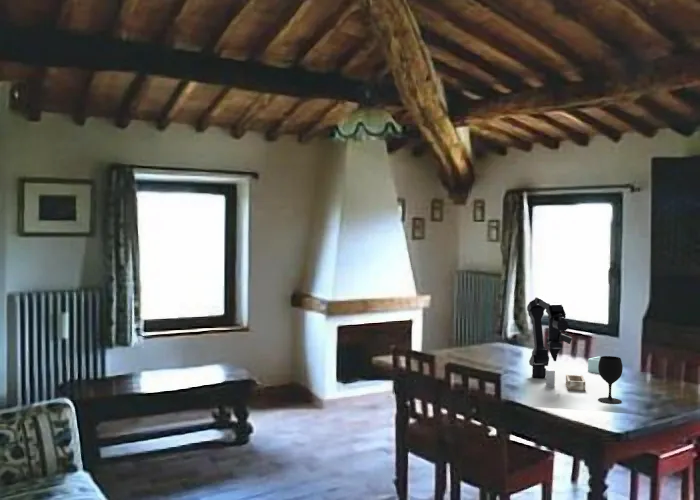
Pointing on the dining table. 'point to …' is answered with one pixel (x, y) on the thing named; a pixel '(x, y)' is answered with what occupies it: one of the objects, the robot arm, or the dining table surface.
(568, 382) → the beige tray
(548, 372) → the light grey rectangular block
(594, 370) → the l-shaped corner panel
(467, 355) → the dining table surface
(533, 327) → the robot arm
